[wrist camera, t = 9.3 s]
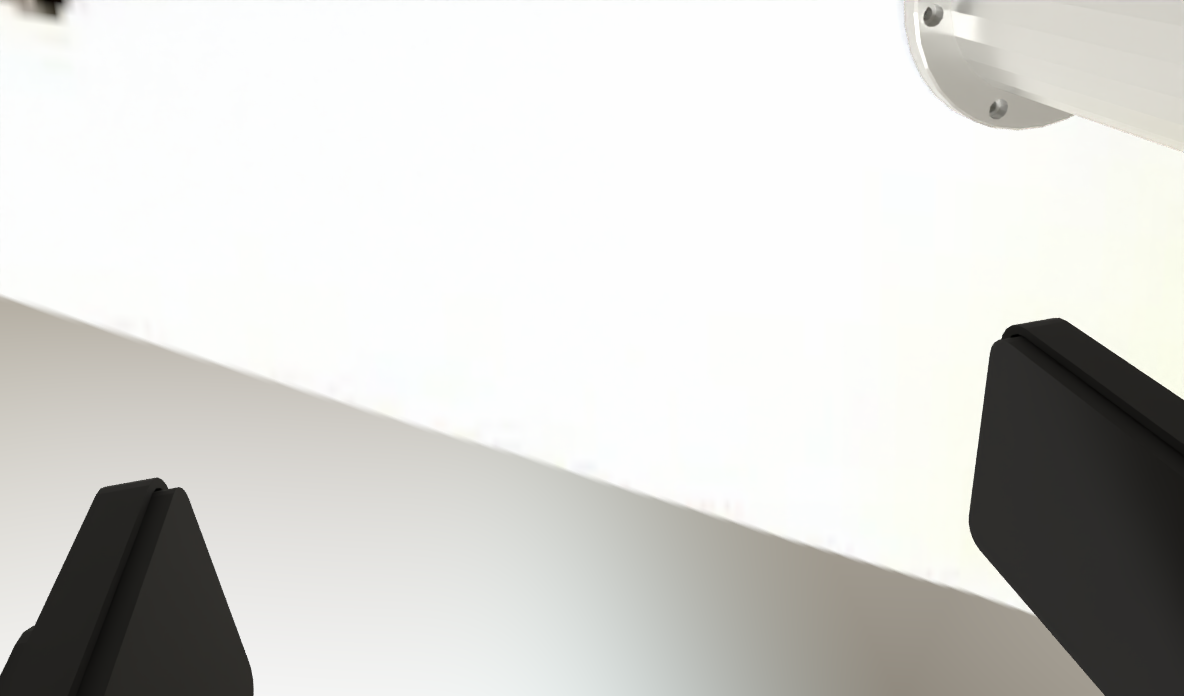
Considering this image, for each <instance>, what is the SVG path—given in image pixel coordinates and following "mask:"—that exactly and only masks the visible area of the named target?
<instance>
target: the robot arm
mask: <svg viewBox="0 0 1184 696" xmlns="http://www.w3.org/2000/svg"><path fill="white" fill-rule="evenodd" d="M926 10H927V11H926ZM925 11H926V15H925V16H924V12H925ZM904 24H905V30H906V35H907V39H908V44H909V49H910V53H911V55H912V58H913V60H914V62H915V65H916V67H917V69H918V71H919V74H920V76H921V78H922V79H923V80H924V82H925V83H926V84H927V86H928V87H929V89H930V90H931V91H932V93H933V94H934V95H935V96H936V97H937V98H938V99H939V100H940V101H941V102H943V103H944V104H945V105H946V106H947V107H949V108H950V109H951V110H952V111H954V112H956V113H958V114H960V115H962V116H964V117H966V118H968V119H970V120H972V121H975V122H978V123H980V124H983V125H986V126H988V127H992V128H999V129H1010V130H1024V129H1032V128H1040V127H1045V126H1048V125H1051V124H1054V123H1057V122H1060V121H1063V120H1066V119H1068V118H1070V117H1072V116H1074V115H1076V116H1079V117H1082V118H1085V119H1088V120H1091V121H1094V122H1097V123H1099V124H1102V125H1105V126H1108V127H1111V128H1114V129H1117V130H1120V131H1123V132H1126V133H1128V134H1131V135H1134V136H1137V137H1140V138H1143V139H1146V140H1149V141H1152V142H1155V143H1157V144H1160V145H1163V146H1166V147H1169V148H1172V149H1175V150H1178V151H1181V152H1184V0H904ZM969 527H970V532H971V535H972V538H973V540H974V542H975V544H976V545H977V547H978V548H979V550H980V551H981V552H982V553H983V554H984V555H985V557H986V558H987V559H988V560H989V561H990V562H991V564H992V565H993V566H994V567H995V568H996V569H997V571H998V572H999V573H1000V574H1001V575H1002V576H1003V578H1004V579H1005V580H1006V581H1007V582H1008V583H1009V585H1010V586H1011V587H1012V588H1013V589H1014V590H1015V592H1016V593H1017V594H1018V595H1019V596H1020V597H1021V599H1022V600H1023V601H1024V602H1025V603H1026V604H1027V605H1028V607H1029V608H1030V609H1031V610H1032V611H1033V612H1034V614H1035V615H1036V616H1037V617H1038V618H1039V619H1040V621H1041V622H1042V623H1043V624H1044V625H1045V626H1046V628H1047V629H1048V630H1049V631H1050V632H1051V633H1052V635H1053V636H1054V637H1055V638H1056V639H1057V640H1058V642H1059V643H1060V644H1061V645H1062V646H1063V647H1064V649H1065V650H1066V651H1067V652H1068V653H1069V654H1070V655H1071V656H1072V658H1073V659H1074V660H1075V661H1076V662H1077V664H1078V665H1079V666H1080V667H1081V668H1082V669H1083V671H1084V672H1085V673H1086V674H1087V675H1088V676H1089V678H1090V679H1091V680H1092V681H1093V682H1094V683H1095V684H1096V686H1097V687H1098V688H1099V689H1100V690H1101V692H1102V693H1103V694H1104V695H1105V696H1184V400H1183V399H1181V398H1180V397H1178V396H1177V395H1175V394H1174V393H1172V392H1171V391H1170V390H1168V389H1167V388H1165V387H1164V386H1162V385H1161V384H1159V383H1158V382H1156V381H1155V380H1153V379H1152V378H1150V377H1149V376H1147V375H1146V374H1144V373H1143V372H1141V371H1140V370H1138V369H1137V368H1135V367H1134V366H1132V365H1131V364H1129V363H1128V362H1127V361H1125V360H1124V359H1122V358H1121V357H1119V356H1118V355H1116V354H1115V353H1113V352H1112V351H1110V350H1109V349H1107V348H1106V347H1104V346H1103V345H1101V344H1100V343H1098V342H1097V341H1095V340H1094V339H1092V338H1091V337H1089V336H1088V335H1086V334H1085V333H1084V332H1082V331H1081V330H1079V329H1078V328H1076V327H1075V326H1073V325H1072V324H1070V323H1069V322H1067V321H1065V320H1063V319H1061V318H1051V319H1046V320H1040V321H1034V322H1029V323H1023V324H1017V325H1012V326H1010V327H1009V328H1007V329H1006V330H1005V332H1004V334H1003V335H1002V339H1001V340H998V341H996V342H995V343H994V344H993V346H992V348H991V352H990V357H989V365H988V373H987V380H986V388H985V396H984V404H983V411H982V419H981V427H980V434H979V442H978V450H977V458H976V465H975V473H974V481H973V488H972V496H971V504H970V512H969ZM0 696H253V677H252V672H251V667H250V664H249V661H248V658H247V655H246V653H245V650H244V647H243V645H242V642H241V639H240V636H239V634H238V631H237V628H236V626H235V623H234V620H233V617H232V615H231V612H230V609H229V607H228V604H227V601H226V598H225V596H224V593H223V590H222V588H221V585H220V582H219V579H218V577H217V574H216V571H215V569H214V566H213V563H212V560H211V558H210V555H209V552H208V550H207V547H206V544H205V541H204V539H203V536H202V533H201V531H200V528H199V525H198V522H197V520H196V517H195V514H194V512H193V509H192V506H191V504H190V501H189V498H188V496H187V494H186V492H185V491H184V490H183V489H182V488H180V487H178V488H173V489H168V487H167V485H166V484H165V483H164V482H163V480H162V479H159V478H152V479H146V480H141V481H135V482H130V483H124V484H119V485H112V486H107V487H103V488H101V489H100V490H99V491H98V493H97V494H96V496H95V498H94V500H93V503H92V505H91V507H90V509H89V511H88V513H87V516H86V518H85V520H84V522H83V524H82V526H81V528H80V530H79V532H78V534H77V537H76V539H75V541H74V543H73V545H72V547H71V549H70V551H69V554H68V556H67V558H66V560H65V562H64V564H63V567H62V569H61V571H60V573H59V575H58V577H57V579H56V581H55V584H54V586H53V588H52V590H51V592H50V594H49V596H48V598H47V601H46V603H45V605H44V607H43V609H42V611H41V614H40V616H39V618H38V620H37V622H36V624H35V626H32V627H31V628H29V629H28V630H26V631H25V632H24V633H23V634H22V635H21V637H20V638H19V640H18V641H17V643H16V644H15V646H14V648H13V650H12V653H11V655H10V657H9V659H8V661H7V663H6V665H5V667H4V669H3V671H2V673H1V675H0Z"/></svg>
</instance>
